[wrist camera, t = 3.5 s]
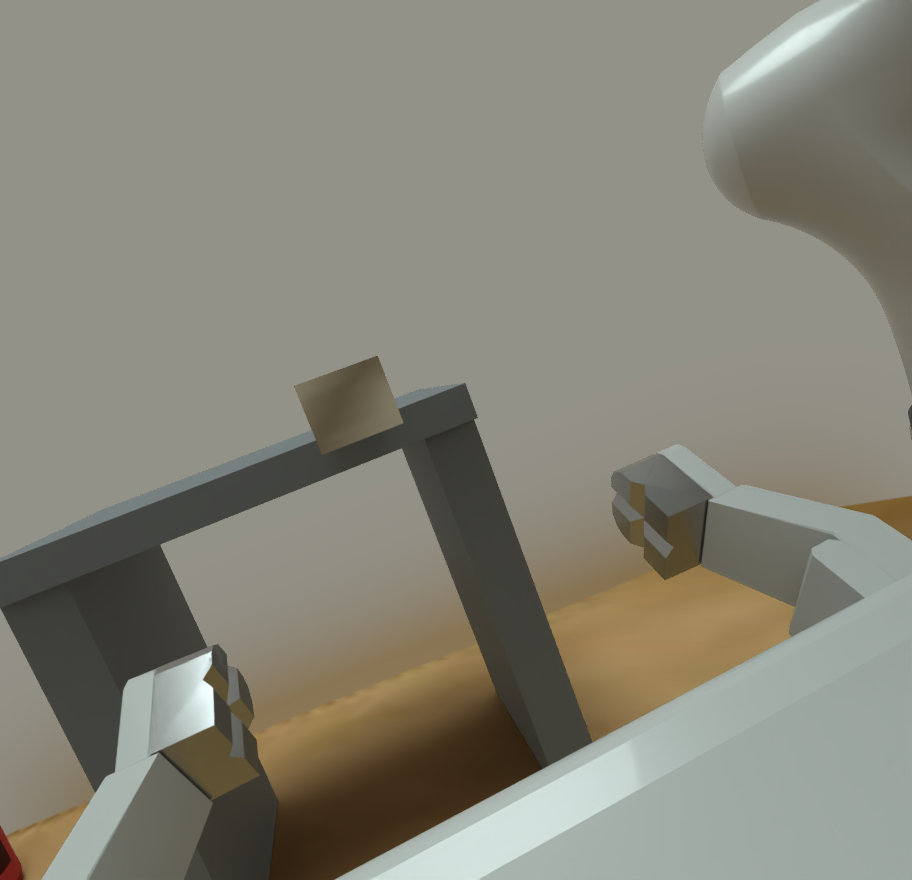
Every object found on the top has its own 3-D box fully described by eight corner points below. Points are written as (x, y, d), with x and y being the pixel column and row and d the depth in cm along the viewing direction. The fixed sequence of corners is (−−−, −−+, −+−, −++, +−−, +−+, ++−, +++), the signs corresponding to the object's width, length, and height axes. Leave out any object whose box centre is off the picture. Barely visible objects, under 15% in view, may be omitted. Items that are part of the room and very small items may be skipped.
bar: (359, 411, 45) (347, 382, 45) (403, 423, 20) (377, 355, 20) (323, 425, 45) (311, 395, 45) (322, 454, 20) (293, 386, 19)
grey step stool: (522, 669, 50) (417, 389, 47) (614, 791, 34) (465, 382, 31) (242, 807, 46) (101, 509, 42) (199, 1023, 30) (-33, 574, 26)
